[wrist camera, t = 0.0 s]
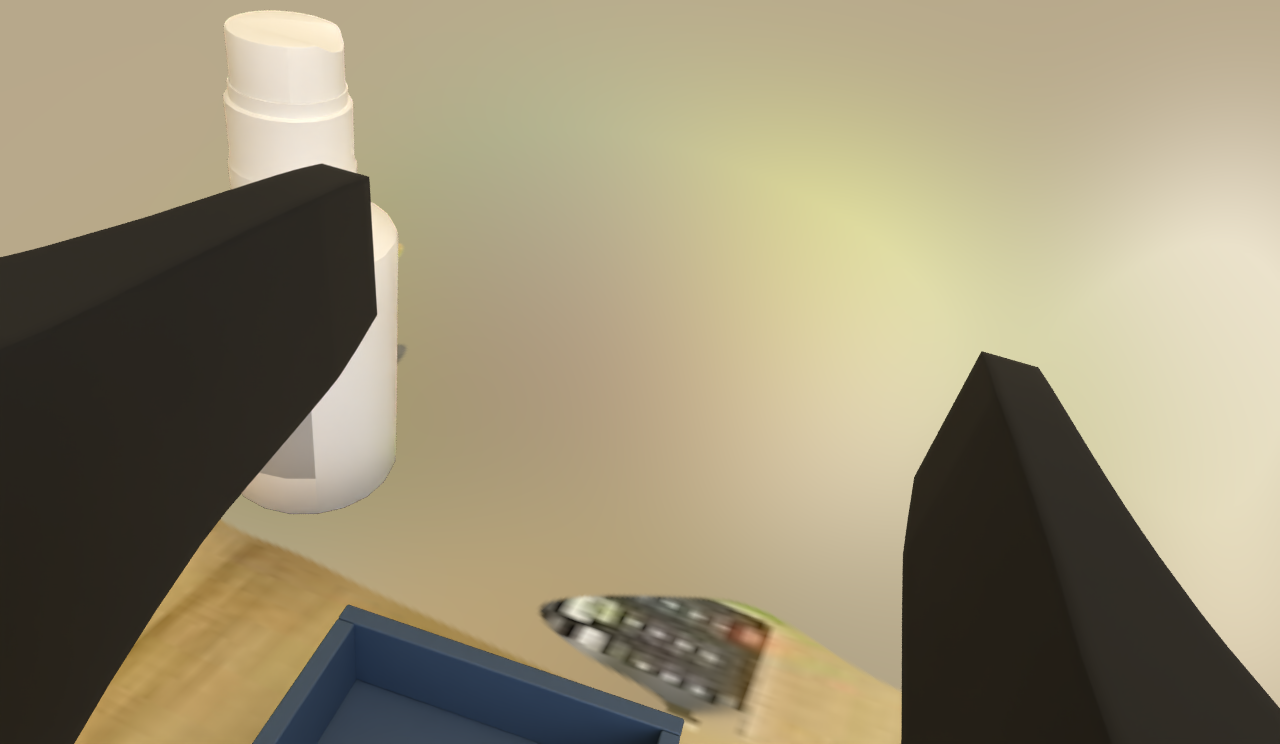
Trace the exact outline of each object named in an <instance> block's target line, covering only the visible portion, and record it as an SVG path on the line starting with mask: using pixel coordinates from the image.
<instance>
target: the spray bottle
mask: <svg viewBox="0 0 1280 744" xmlns="http://www.w3.org/2000/svg"><path fill="white" fill-rule="evenodd" d="M224 35H225V44H226V54H227V63H228V73H229V76H228V77H227V79H226V80H227V89H226V91H225V92H224V94H223V101H224V109H225V119H226V128H227V136H228V146H229V157H228V159H227V162H228V171H229V180H230V189H234V188H237V187H240V186H244V185H247V184H250V183H253V182H256V181H259V180H262V179H265V178H269V177H272V176H275V175H278V174H282V173H285V172H289V171H292V170H296V169H300V168H303V167H308V166H312V165H317V164H321V163H322V164H326V165H329V166H333V167H336V168H340V169H343V170H347V171H350V172H354V173H357V161H356V159H355V157H354V122H353V100H352V98H351V97H350V95H349V94H348V85H347V83H346V82H345V57H344V56H345V55H344V41H343V39H342V35H341V32H340V29H339V27H338V26H337V25H336V24H334V23H332V22H330V21H328V20H325V19H322V18H319V17H316V16H313V15H308V14H303V13H298V12H289V11H273V10H265V11H264V10H263V11H250V12H246V13H241V14H237V15H235V16H232V17H230V18H228V19H227V20H226V22H225V24H224ZM371 216H372V233H373V250H374V267H375V284H376V300H377V316H376V318H375V320H374V321H373V323H372V325H371V326H370V328H369V330H368V331H367V333H366V335H365V336H364V338H363V340H362V342H361V343H360V345H359V347H358V348H357V350H356V352H355V353H354V355H353V356H352V358H351V359H350V361H349V362H348V364H347V365H346V367H345V369H344V370H343V372H342V373H341V375H340V376H339V378H338V379H337V380H336V382H335V383H334V384H333V385H332V387H331V388H330V389H329V390H328V392H327V393H326V394H325V395H324V396H323V398H322V399H321V400H320V401H319V402H318V404H317V405H316V406H315V407H314V408H313V410H312V411H311V412H310V413H309V414H308V416H307V417H306V418H305V419H304V420H303V422H302V423H301V424H300V425H299V426H298V428H297V429H296V430H295V431H294V432H293V433H292V435H291V436H290V437H289V438H288V439H287V441H286V442H285V443H284V444H283V445H282V446H281V448H280V449H279V450H278V451H277V452H276V453H275V455H274V456H273V457H272V458H271V459H270V460H269V462H268V463H267V464H266V465H265V466H264V468H263V469H262V470H261V471H260V472H259V473H258V475H257V476H256V477H255V478H254V479H253V480H252V482H251V483H250V484H249V485H248V486H247V487H246V489H245V490H244V491H243V492H242V493H241V494H242V495H243V496H244V497H245V498H247V499H249V500H251V501H252V502H254V503H256V504H258V505H260V506H262V507H263V508H266V509H270V510H275V511H279V512H284V513H288V514H319V513H323V512H328V511H332V510H336V509H341V508H345V507H347V506H349V505H351V504H353V503H355V502H357V501H359V500H361V499H363V498H365V497H367V496H368V495H370V494H371V493H372V492H373V491H374V490H375V489H376V488H377V487H379V486H380V485H381V484H382V483H383V482H384V481H385V479H386V478H387V476H388V474H389V472H390V470H391V468H392V466H393V465H394V463H395V457H396V418H397V313H398V312H397V310H398V302H397V301H398V233H397V229H396V227H395V225H394V224H393V222H392V220H391V218H390V217H389V215H388V214H387V213H386V212H385V211H383V210H382V209H381V208H379V207H378V206H377V205H375V204H374V203H373V202H371Z"/></svg>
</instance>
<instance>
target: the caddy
mask: <svg viewBox="0 0 1280 744" xmlns="http://www.w3.org/2000/svg"><path fill="white" fill-rule="evenodd" d="M683 724H684V719H682V718H679V717H676V716H674V715H671V714H668V713H665V712H662V711H659V710H656V709H653V708H650V707H647V706H644V705H641V704H638V703H635V702H633V701H630V700H627V699H624V698H621V697H618V696H615V695H612V694H609V693H606V692H603V691H600V690H597V689H594V688H591V687H589V686H586V685H583V684H580V683H577V682H574V681H571V680H568V679H565V678H562V677H559V676H556V675H553V674H550V673H548V672H545V671H542V670H539V669H536V668H533V667H530V666H527V665H524V664H521V663H518V662H515V661H512V660H509V659H507V658H504V657H501V656H498V655H495V654H492V653H489V652H486V651H483V650H480V649H477V648H474V647H471V646H468V645H465V644H463V643H460V642H457V641H454V640H451V639H448V638H445V637H442V636H439V635H436V634H433V633H430V632H427V631H424V630H422V629H419V628H416V627H413V626H410V625H407V624H404V623H401V622H398V621H395V620H392V619H389V618H386V617H383V616H380V615H378V614H375V613H372V612H369V611H366V610H363V609H360V608H357V607H354V606H351V605H347V606H346V607H345V609H344V610H343V612H342V613H341V615H340V616H339V619H338V620H337V621H336V622H335V624H334V625H333V626H332V628H331V629H330V631H329V632H328V634H327V635H326V637H325V638H324V640H323V641H322V642H321V644H320V645H319V647H318V648H317V650H316V651H315V653H314V654H313V656H312V657H311V659H310V660H309V661H308V663H307V664H306V666H305V667H304V669H303V670H302V672H301V673H300V675H299V676H298V677H297V679H296V680H295V682H294V683H293V685H292V686H291V688H290V689H289V691H288V692H287V694H286V695H285V696H284V698H283V699H282V701H281V702H280V704H279V705H278V707H277V708H276V710H275V711H274V712H273V714H272V715H271V717H270V718H269V720H268V721H267V723H266V724H265V726H264V727H263V729H262V730H261V731H260V733H259V734H258V736H257V737H256V739H255V740H254V742H253V743H252V744H679V740H680V736H681V732H682V728H683Z"/></svg>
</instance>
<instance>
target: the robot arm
mask: <svg viewBox="0 0 1280 744" xmlns="http://www.w3.org/2000/svg"><path fill="white" fill-rule="evenodd" d="M376 316H377V300H376V284H375V267H374V250H373V233H372V216H371V200H370V182H369V177H367V176H364V175H361V174H357V173H354V172H350V171H347V170H343V169H340V168H336V167H333V166H329V165H326V164H322V163H321V164H317V165H312V166H308V167H303V168H300V169H296V170H292V171H289V172H285V173H282V174H278V175H275V176H272V177H269V178H265V179H262V180H259V181H256V182H253V183H250V184H247V185H244V186H240V187H237V188H234V189H231V190H228V191H225V192H222V193H219V194H216V195H213V196H210V197H207V198H204V199H201V200H198V201H195V202H192V203H189V204H185V205H182V206H179V207H176V208H173V209H170V210H167V211H164V212H161V213H158V214H155V215H152V216H148V217H145V218H142V219H139V220H135V221H132V222H128V223H125V224H121V225H118V226H115V227H111V228H108V229H104V230H100V231H97V232H94V233H90V234H86V235H83V236H80V237H76V238H73V239H69V240H66V241H62V242H59V243H55V244H52V245H48V246H45V247H41V248H37V249H34V250H29V251H25V252H21V253H17V254H13V255H9V256H4V257H0V744H74V743H75V741H76V740H77V738H78V736H79V735H80V733H81V731H82V729H83V728H84V726H85V724H86V723H87V721H88V719H89V718H90V716H91V714H92V712H93V711H94V709H95V707H96V706H97V704H98V702H99V701H100V699H101V697H102V695H103V694H104V692H105V690H106V689H107V687H108V685H109V684H110V682H111V680H112V679H113V677H114V676H115V674H116V673H117V671H118V669H119V668H120V666H121V665H122V663H123V662H124V660H125V658H126V657H127V655H128V654H129V652H130V651H131V649H132V647H133V646H134V644H135V643H136V641H137V640H138V638H139V636H140V635H141V633H142V632H143V630H144V628H145V627H146V625H147V624H148V622H149V621H150V619H151V617H152V616H153V614H154V613H155V611H156V610H157V608H158V607H159V605H160V604H161V602H162V601H163V599H164V598H165V596H166V595H167V593H168V592H169V590H170V589H171V588H172V586H173V585H174V583H175V582H176V580H177V579H178V577H179V576H180V574H181V573H182V571H183V570H184V568H185V567H186V565H187V564H188V562H189V561H190V559H191V558H192V557H193V555H194V554H195V552H196V551H197V549H198V548H199V546H200V545H201V543H202V542H203V541H204V539H205V538H206V537H207V535H208V534H209V533H210V532H211V530H212V529H213V528H214V526H215V525H216V524H217V523H218V521H219V520H220V519H221V517H222V516H223V515H224V514H225V512H226V511H227V510H228V509H229V507H230V506H231V505H232V504H233V503H234V501H235V500H236V499H237V498H238V497H239V496H240V495H241V493H242V492H243V491H244V490H245V489H246V487H247V486H248V485H249V484H250V483H251V482H252V480H253V479H254V478H255V477H256V476H257V475H258V473H259V472H260V471H261V470H262V469H263V468H264V466H265V465H266V464H267V463H268V462H269V460H270V459H271V458H272V457H273V456H274V455H275V453H276V452H277V451H278V450H279V449H280V448H281V446H282V445H283V444H284V443H285V442H286V441H287V439H288V438H289V437H290V436H291V435H292V433H293V432H294V431H295V430H296V429H297V428H298V426H299V425H300V424H301V423H302V422H303V420H304V419H305V418H306V417H307V416H308V414H309V413H310V412H311V411H312V410H313V408H314V407H315V406H316V405H317V404H318V402H319V401H320V400H321V399H322V398H323V396H324V395H325V394H326V393H327V392H328V390H329V389H330V388H331V387H332V385H333V384H334V383H335V382H336V380H337V379H338V378H339V376H340V375H341V373H342V372H343V370H344V369H345V367H346V365H347V364H348V362H349V361H350V359H351V358H352V356H353V355H354V353H355V352H356V350H357V348H358V347H359V345H360V343H361V342H362V340H363V338H364V336H365V335H366V333H367V331H368V330H369V328H370V326H371V325H372V323H373V321H374V320H375V318H376ZM902 588H903V589H902V590H903V591H902V597H903V598H902V740H901V744H1280V708H1279V707H1278V706H1277V705H1276V703H1275V702H1274V701H1273V700H1272V699H1271V697H1270V696H1269V695H1268V694H1267V693H1266V691H1265V690H1264V689H1263V688H1262V687H1261V686H1260V684H1259V683H1258V682H1257V681H1256V680H1255V678H1254V677H1253V676H1252V675H1251V674H1250V673H1249V671H1248V670H1247V669H1246V668H1245V667H1244V665H1243V664H1242V663H1241V662H1240V661H1239V660H1238V658H1237V657H1236V656H1235V655H1234V654H1233V652H1232V651H1231V650H1230V649H1229V648H1228V647H1227V645H1226V644H1225V643H1224V642H1223V640H1222V639H1221V638H1220V637H1219V635H1218V634H1217V633H1216V632H1215V630H1214V629H1213V628H1212V627H1211V625H1210V624H1209V623H1208V621H1207V620H1206V619H1205V618H1204V616H1203V615H1202V614H1201V613H1200V611H1199V610H1198V609H1197V607H1196V606H1195V604H1194V603H1193V602H1192V600H1191V599H1190V598H1189V596H1188V595H1187V594H1186V592H1185V591H1184V590H1183V588H1182V587H1181V585H1180V584H1179V583H1178V581H1177V580H1176V579H1175V577H1174V576H1173V575H1172V573H1171V572H1170V570H1169V569H1168V568H1167V566H1166V565H1165V564H1164V562H1163V561H1162V560H1161V558H1160V557H1159V556H1158V554H1157V553H1156V551H1155V550H1154V548H1153V547H1152V545H1151V544H1150V542H1149V541H1148V539H1147V538H1146V537H1145V535H1144V534H1143V533H1142V531H1141V530H1140V528H1139V526H1138V525H1137V523H1136V522H1135V521H1134V519H1133V517H1132V516H1131V514H1130V513H1129V511H1128V510H1127V508H1126V507H1125V505H1124V504H1123V502H1122V501H1121V499H1120V498H1119V496H1118V495H1117V493H1116V491H1115V490H1114V488H1113V487H1112V485H1111V484H1110V482H1109V481H1108V479H1107V478H1106V476H1105V474H1104V473H1103V471H1102V469H1101V468H1100V466H1099V465H1098V463H1097V461H1096V460H1095V458H1094V457H1093V455H1092V453H1091V452H1090V450H1089V448H1088V447H1087V445H1086V444H1085V442H1084V440H1083V439H1082V437H1081V435H1080V434H1079V432H1078V431H1077V429H1076V427H1075V426H1074V424H1073V422H1072V421H1071V419H1070V417H1069V416H1068V414H1067V412H1066V411H1065V409H1064V407H1063V406H1062V404H1061V403H1060V401H1059V399H1058V397H1057V396H1056V394H1055V393H1054V391H1053V389H1052V388H1051V386H1050V385H1049V383H1048V381H1047V380H1046V378H1045V377H1044V375H1043V374H1042V373H1041V371H1040V369H1039V368H1038V367H1035V366H1031V365H1028V364H1024V363H1021V362H1017V361H1013V360H1010V359H1007V358H1003V357H1000V356H996V355H993V354H989V353H986V352H981V354H980V355H979V357H978V359H977V361H976V363H975V365H974V367H973V368H972V370H971V372H970V374H969V376H968V378H967V380H966V382H965V383H964V385H963V387H962V389H961V391H960V393H959V395H958V396H957V399H956V400H955V402H954V404H953V406H952V408H951V410H950V412H949V413H948V415H947V417H946V419H945V421H944V423H943V425H942V426H941V428H940V430H939V432H938V434H937V436H936V438H935V440H934V441H933V443H932V445H931V447H930V449H929V451H928V453H927V455H926V456H925V458H924V460H923V462H922V464H921V466H920V468H919V469H918V471H917V473H916V475H915V477H914V483H913V489H912V495H911V502H910V509H909V515H908V522H907V529H906V536H905V544H904V551H903V587H902Z"/></svg>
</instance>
